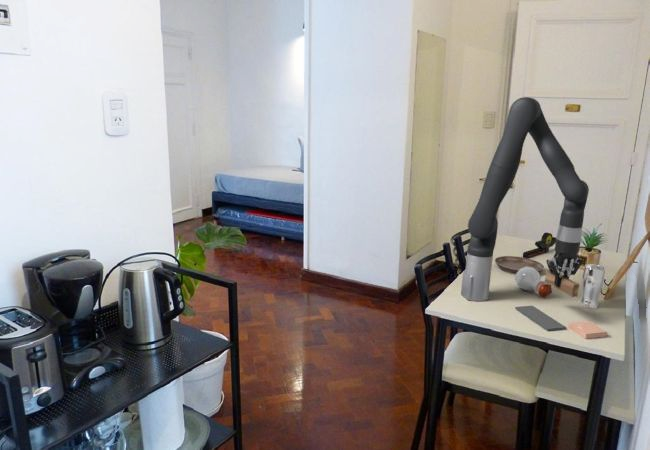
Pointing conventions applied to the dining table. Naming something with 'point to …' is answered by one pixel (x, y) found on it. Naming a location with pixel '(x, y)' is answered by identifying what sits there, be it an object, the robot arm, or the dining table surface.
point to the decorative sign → (541, 246)
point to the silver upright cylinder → (592, 285)
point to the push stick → (563, 284)
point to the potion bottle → (532, 281)
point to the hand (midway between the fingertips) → (560, 286)
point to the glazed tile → (587, 330)
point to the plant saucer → (517, 264)
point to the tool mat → (540, 318)
